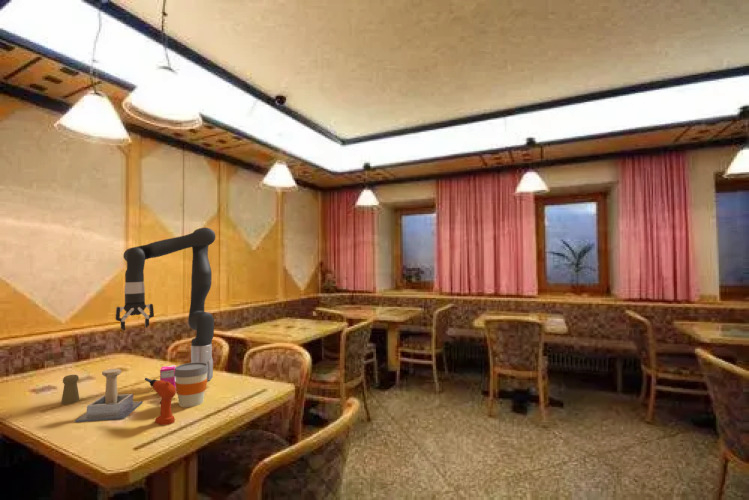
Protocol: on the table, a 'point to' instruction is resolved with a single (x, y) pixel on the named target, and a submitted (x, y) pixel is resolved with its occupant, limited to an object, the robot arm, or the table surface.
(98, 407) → the chuck block
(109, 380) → the handle
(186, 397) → the reusable coffee cup
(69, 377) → the pepper shaker
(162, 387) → the toy drill
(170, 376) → the supplement box
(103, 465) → the table surface
